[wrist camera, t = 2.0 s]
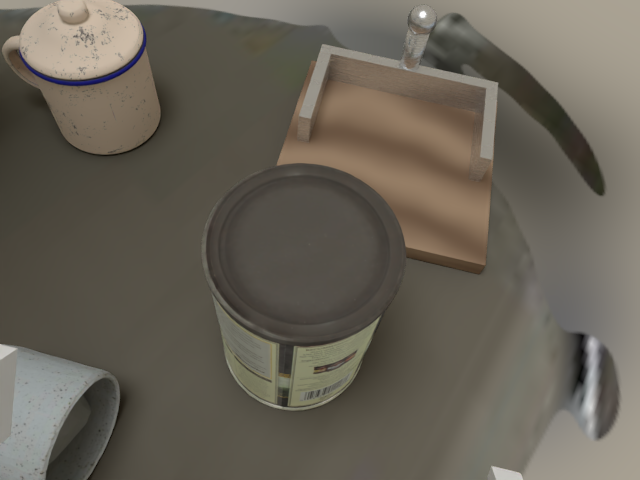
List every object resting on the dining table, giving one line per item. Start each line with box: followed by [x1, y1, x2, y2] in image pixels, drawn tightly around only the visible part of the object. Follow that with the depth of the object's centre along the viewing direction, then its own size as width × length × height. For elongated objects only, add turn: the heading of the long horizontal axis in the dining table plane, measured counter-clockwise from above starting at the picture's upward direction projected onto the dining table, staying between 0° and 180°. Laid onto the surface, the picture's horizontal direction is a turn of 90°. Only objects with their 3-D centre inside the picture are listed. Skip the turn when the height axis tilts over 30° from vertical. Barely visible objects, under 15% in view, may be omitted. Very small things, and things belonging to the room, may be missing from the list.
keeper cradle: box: [297, 4, 498, 182], centre depth 45 cm, size 10×16×9 cm, turn 77°
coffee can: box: [201, 163, 406, 411], centre depth 33 cm, size 10×10×14 cm
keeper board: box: [276, 61, 497, 274], centre depth 47 cm, size 18×18×2 cm
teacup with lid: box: [2, 0, 161, 155], centre depth 43 cm, size 12×9×12 cm
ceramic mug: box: [0, 344, 120, 480], centre depth 31 cm, size 11×8×8 cm
